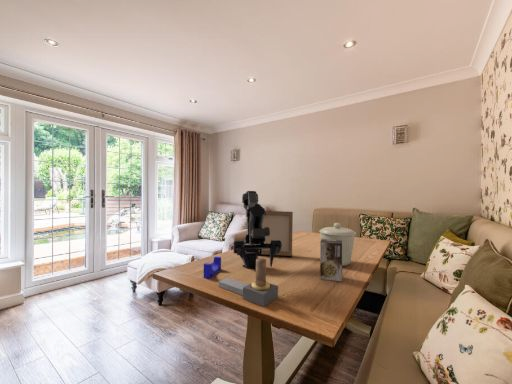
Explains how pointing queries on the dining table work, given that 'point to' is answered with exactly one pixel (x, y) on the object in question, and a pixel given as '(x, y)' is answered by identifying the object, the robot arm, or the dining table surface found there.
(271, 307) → the dining table surface
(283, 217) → the photo frame
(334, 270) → the coffee box
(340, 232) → the canister
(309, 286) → the dining table surface
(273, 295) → the hitch block
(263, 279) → the walnut pin
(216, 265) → the blue arched block
